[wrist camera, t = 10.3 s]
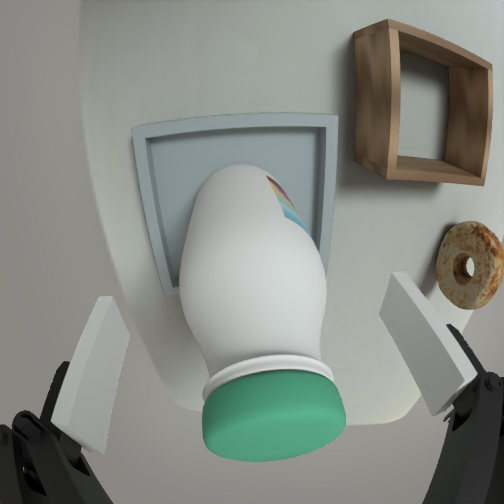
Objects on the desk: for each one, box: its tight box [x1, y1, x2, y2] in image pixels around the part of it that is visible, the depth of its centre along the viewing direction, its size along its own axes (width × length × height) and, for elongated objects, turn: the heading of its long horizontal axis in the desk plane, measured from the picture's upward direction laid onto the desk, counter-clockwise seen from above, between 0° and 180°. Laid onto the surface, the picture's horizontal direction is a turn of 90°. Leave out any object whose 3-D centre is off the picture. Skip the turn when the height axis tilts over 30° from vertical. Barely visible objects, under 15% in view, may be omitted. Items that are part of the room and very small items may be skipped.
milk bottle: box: [179, 164, 346, 462], centre depth 16 cm, size 8×8×20 cm
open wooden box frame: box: [354, 19, 493, 186], centre depth 18 cm, size 13×13×6 cm
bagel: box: [436, 221, 504, 310], centre depth 26 cm, size 10×4×10 cm, turn 176°
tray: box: [132, 113, 338, 296], centre depth 24 cm, size 16×16×2 cm
